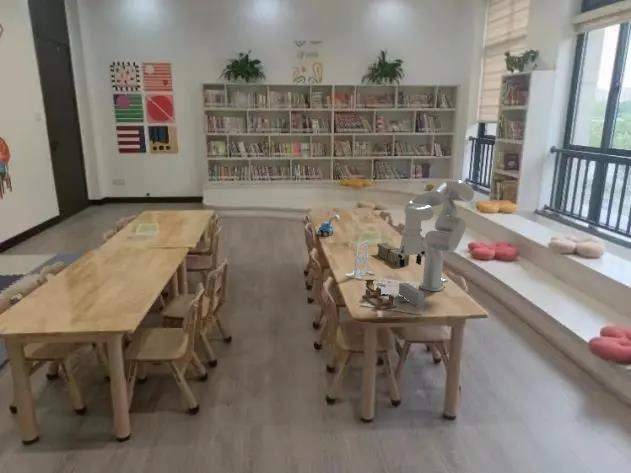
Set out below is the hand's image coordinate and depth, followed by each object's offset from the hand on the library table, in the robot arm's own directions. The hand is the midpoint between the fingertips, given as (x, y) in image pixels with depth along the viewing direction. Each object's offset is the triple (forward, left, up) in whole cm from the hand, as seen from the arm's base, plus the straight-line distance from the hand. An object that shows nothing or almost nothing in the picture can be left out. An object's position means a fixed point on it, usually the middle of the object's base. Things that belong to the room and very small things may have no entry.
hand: (410, 265), depth 229 cm
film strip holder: (+3, -43, -19) cm, 47 cm away
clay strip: (-1, +1, -19) cm, 19 cm away
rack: (+15, -4, -19) cm, 24 cm away
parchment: (+5, -21, -19) cm, 29 cm away
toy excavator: (-22, -131, -19) cm, 134 cm away
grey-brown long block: (-33, -60, -19) cm, 71 cm away
